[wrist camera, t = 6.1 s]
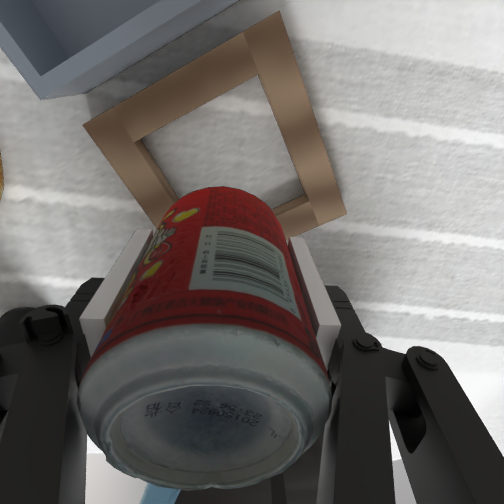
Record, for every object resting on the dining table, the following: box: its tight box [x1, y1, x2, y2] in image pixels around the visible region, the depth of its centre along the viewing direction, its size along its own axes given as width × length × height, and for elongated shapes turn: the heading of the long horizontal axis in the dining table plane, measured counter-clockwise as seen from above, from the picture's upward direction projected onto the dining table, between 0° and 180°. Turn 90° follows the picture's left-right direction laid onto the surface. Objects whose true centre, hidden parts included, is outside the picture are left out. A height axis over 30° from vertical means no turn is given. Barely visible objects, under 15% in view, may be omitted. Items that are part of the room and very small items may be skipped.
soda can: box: [77, 186, 332, 490], centre depth 13 cm, size 7×7×12 cm
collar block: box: [83, 11, 347, 240], centre depth 29 cm, size 18×18×2 cm
